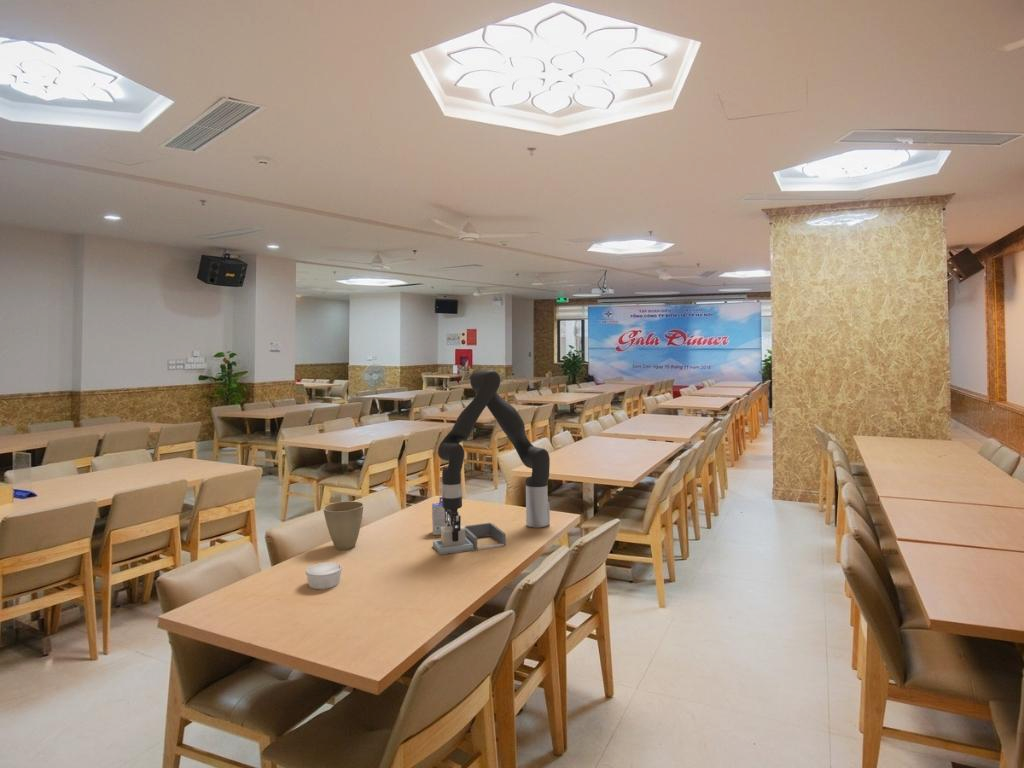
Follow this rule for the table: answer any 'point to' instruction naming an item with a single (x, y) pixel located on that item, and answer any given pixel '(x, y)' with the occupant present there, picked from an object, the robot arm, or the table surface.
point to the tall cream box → (447, 536)
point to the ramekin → (323, 575)
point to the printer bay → (485, 534)
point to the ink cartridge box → (438, 517)
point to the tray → (453, 547)
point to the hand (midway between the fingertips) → (452, 538)
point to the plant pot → (344, 523)
